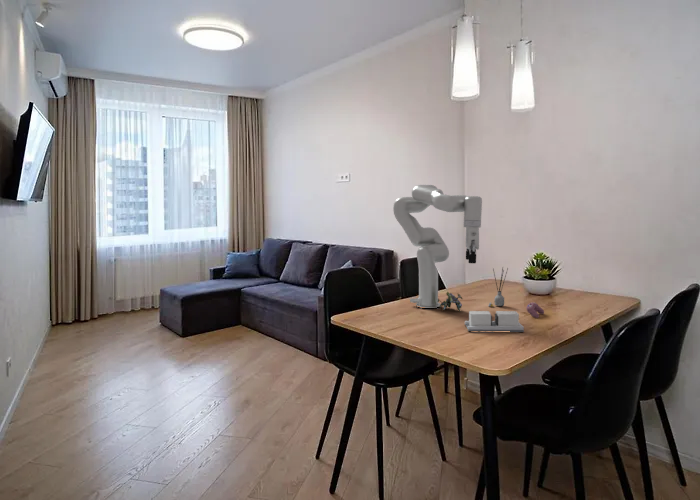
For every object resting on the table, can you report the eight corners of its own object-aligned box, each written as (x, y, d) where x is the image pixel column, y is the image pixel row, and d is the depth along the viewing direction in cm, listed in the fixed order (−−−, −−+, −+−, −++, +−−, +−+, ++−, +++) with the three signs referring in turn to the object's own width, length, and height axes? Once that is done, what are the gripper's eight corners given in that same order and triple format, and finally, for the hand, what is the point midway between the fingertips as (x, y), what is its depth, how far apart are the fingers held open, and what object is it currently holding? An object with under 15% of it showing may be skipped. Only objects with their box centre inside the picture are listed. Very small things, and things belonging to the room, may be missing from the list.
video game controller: (536, 316, 211) (529, 302, 212) (545, 313, 208) (538, 299, 210) (529, 320, 204) (523, 306, 205) (539, 317, 201) (532, 303, 202)
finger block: (470, 328, 185) (471, 314, 184) (469, 324, 190) (469, 311, 189) (492, 328, 184) (492, 314, 183) (489, 325, 189) (489, 311, 188)
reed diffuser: (504, 304, 229) (505, 265, 226) (512, 307, 222) (512, 267, 220) (486, 305, 226) (486, 266, 224) (493, 309, 220) (494, 268, 217)
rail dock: (468, 332, 183) (468, 315, 182) (464, 325, 193) (464, 309, 192) (523, 332, 181) (524, 315, 180) (517, 325, 191) (517, 309, 190)
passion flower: (458, 322, 218) (467, 305, 210) (437, 319, 216) (445, 302, 209) (454, 304, 226) (463, 288, 219) (434, 301, 225) (442, 285, 217)
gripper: (484, 225, 192) (482, 264, 195) (477, 222, 209) (476, 258, 211) (466, 225, 193) (464, 264, 195) (461, 222, 210) (460, 258, 212)
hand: (470, 261), depth 203 cm, fingers open, 9 cm apart
